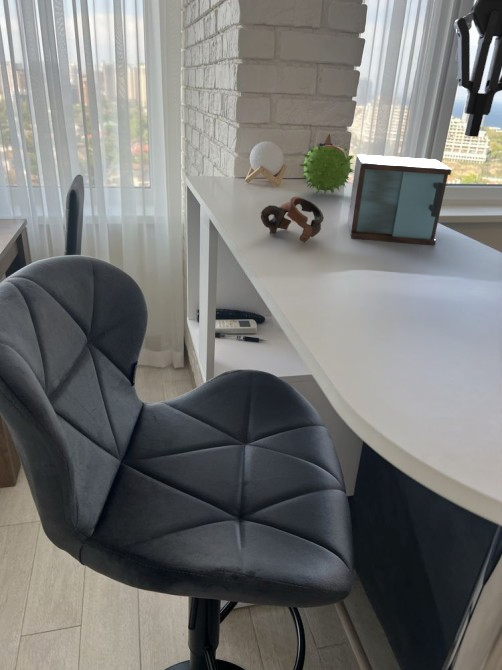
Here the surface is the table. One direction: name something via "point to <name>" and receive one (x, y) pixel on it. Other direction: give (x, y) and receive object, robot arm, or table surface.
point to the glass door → (418, 204)
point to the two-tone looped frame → (293, 217)
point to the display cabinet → (385, 196)
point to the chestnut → (327, 167)
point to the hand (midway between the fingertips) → (471, 135)
